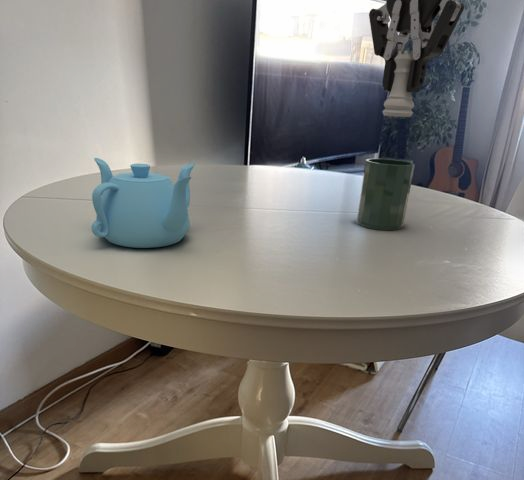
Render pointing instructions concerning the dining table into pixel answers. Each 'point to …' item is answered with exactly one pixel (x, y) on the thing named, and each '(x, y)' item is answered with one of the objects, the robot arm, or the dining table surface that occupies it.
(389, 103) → the rook chess piece
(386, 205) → the holder
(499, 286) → the dining table surface
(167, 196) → the teapot
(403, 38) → the robot arm
